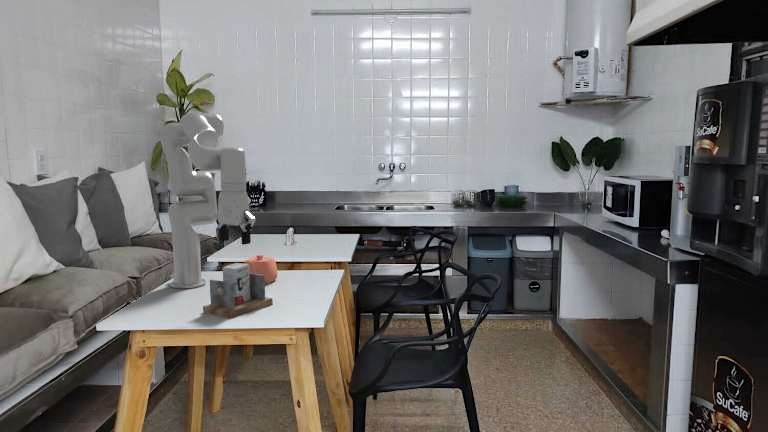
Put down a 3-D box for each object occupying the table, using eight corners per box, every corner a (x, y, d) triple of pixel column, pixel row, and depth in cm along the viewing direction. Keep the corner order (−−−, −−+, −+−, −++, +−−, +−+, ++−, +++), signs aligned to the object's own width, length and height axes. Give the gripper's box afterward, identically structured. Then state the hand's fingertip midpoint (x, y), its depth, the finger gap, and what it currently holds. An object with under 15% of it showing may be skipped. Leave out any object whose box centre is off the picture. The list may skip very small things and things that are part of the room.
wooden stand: (203, 312, 178) (201, 280, 177) (246, 299, 193) (245, 270, 192) (230, 318, 171) (228, 285, 170) (272, 304, 186) (271, 274, 185)
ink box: (237, 306, 177) (235, 268, 176) (223, 305, 179) (221, 267, 178) (251, 299, 186) (249, 263, 184) (237, 298, 187) (236, 262, 186)
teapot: (282, 277, 226) (281, 251, 225) (264, 288, 209) (263, 260, 207) (255, 276, 228) (254, 251, 227) (235, 287, 211) (234, 259, 210)
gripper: (205, 187, 179) (207, 241, 182) (244, 190, 170) (245, 247, 172) (223, 185, 186) (225, 237, 188) (262, 188, 176) (263, 243, 179)
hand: (235, 242), depth 180 cm, fingers open, 9 cm apart
